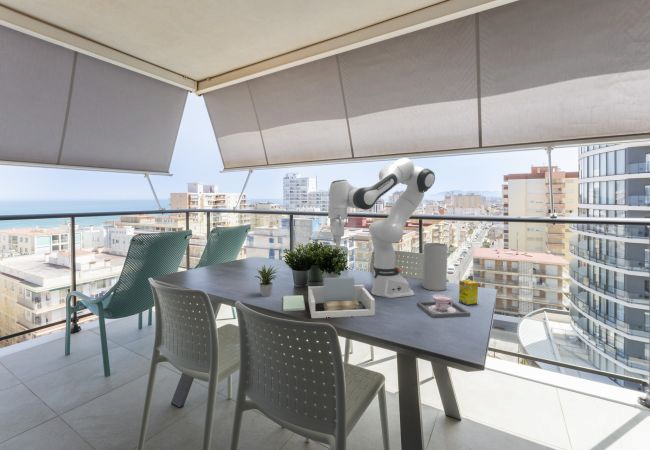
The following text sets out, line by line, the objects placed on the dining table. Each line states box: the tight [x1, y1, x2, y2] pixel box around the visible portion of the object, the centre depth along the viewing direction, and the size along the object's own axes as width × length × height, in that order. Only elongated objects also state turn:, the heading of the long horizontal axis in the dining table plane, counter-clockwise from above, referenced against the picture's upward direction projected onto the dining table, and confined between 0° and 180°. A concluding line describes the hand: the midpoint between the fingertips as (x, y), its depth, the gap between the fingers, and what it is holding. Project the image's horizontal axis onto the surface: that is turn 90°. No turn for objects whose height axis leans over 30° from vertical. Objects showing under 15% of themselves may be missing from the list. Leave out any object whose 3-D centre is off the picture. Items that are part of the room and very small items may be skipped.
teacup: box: [427, 294, 457, 314], centre depth 150 cm, size 12×12×6 cm
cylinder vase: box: [422, 242, 448, 292], centre depth 186 cm, size 12×12×25 cm
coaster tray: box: [416, 300, 471, 319], centre depth 150 cm, size 17×17×2 cm
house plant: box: [254, 264, 280, 297], centre depth 173 cm, size 14×14×16 cm
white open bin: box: [307, 284, 376, 319], centre depth 153 cm, size 28×22×8 cm
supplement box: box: [458, 279, 479, 307], centre depth 160 cm, size 6×6×11 cm
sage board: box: [282, 294, 306, 312], centre depth 160 cm, size 10×20×1 cm, turn 7°
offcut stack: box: [324, 300, 360, 311], centre depth 148 cm, size 15×6×4 cm, turn 100°
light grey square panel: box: [323, 276, 355, 310], centre depth 154 cm, size 14×3×14 cm, turn 97°
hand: (336, 244), depth 155 cm, fingers open, 8 cm apart
